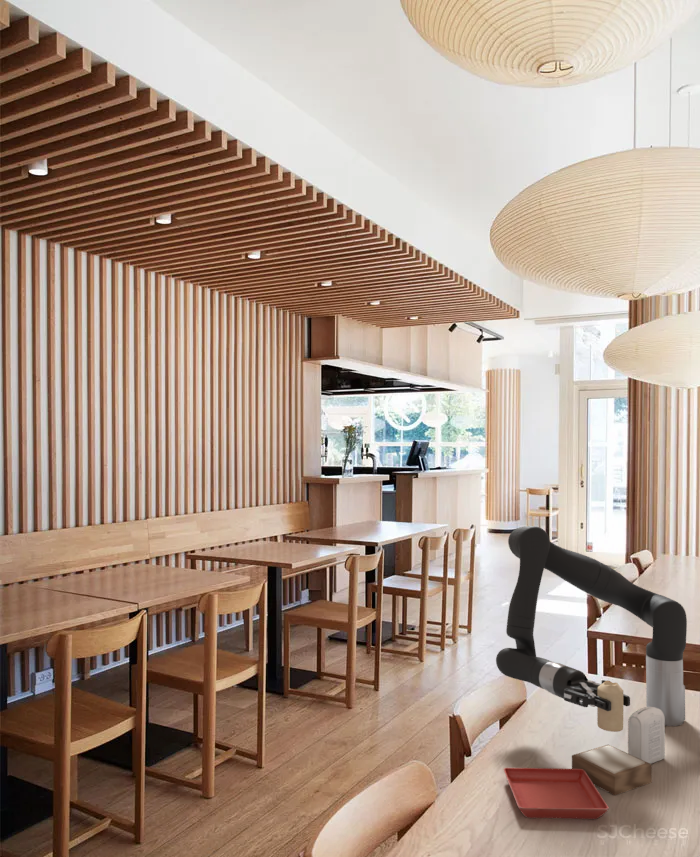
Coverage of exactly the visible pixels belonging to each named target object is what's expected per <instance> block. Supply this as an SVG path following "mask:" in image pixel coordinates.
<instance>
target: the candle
mask: <svg viewBox="0 0 700 857" xmlns="http://www.w3.org/2000/svg"><path fill="white" fill-rule="evenodd" d="M600 684H601V685H600V686H598V696H599V697H602V698H604V699H607V700H609V701H611V711H606V710H603V709H601V708H599V707H597V708H596V709H597V713H596V714H597V715H596V716H597V719H596V720H597V722H596V723H597V727H598V728H599V729H601V730H603V731H606V732H610V733H611V732H612V733H615V732H616V733H618V732H622V731H623V730H624V705H623V694H624V689H623V688H622V687H621V686H620V685H619V684H618V682H612V681H610V680H609V679H608V680H605V682H604V683H602V682H601V683H600Z"/></svg>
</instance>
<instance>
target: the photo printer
mask: <svg viewBox="0 0 700 857" xmlns="http://www.w3.org/2000/svg"><path fill="white" fill-rule="evenodd" d="M628 717H629V718H628V720H627V721H628V722H627V730H628V731H627V732H628V733H627V749H628V750H627V753H628V754H630V755H632V756H635V757H637V758H639V759H641V760H643V761H645V762H648V763H650V764H653V763H656V762H659V761H661V760H663V759H665V756H666V755H665V754H666V752H665V750H666V749H665V748H666V744H665V742H666V741H665V740H666V739H665V736H666V735H665V732H666V731H665V730H666V729H665V726H666V725H665V718H664V714H663V712H662V711H661V710H660V709H658V708H655V707H646V706H645V707H642V708H639V709H638V710H635V711H634V712H633V713H632V714H631V715H630V716H628Z"/></svg>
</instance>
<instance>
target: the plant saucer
mask: <svg viewBox="0 0 700 857" xmlns="http://www.w3.org/2000/svg"><path fill="white" fill-rule="evenodd" d="M502 770H503V772H504V774H505V777H506V779H507V780H506V781H507V782H508V784H509V787H510V790H511V793H512V795H513V797H514V800H515V802H516V804H517V807H518V809H519V811H520V812H521V813H522V814H523V816H524V817H525V818H528V819H575V820H576V819H577V820H578V819H579V820H597V819H599V818H600V817H602V816H603V815H605V814H606V813H607V812H608V810H609V809H610V808H609V806H608V804H607V803H606V801H605V799H604V798H603V796H602V795H601V793H600V792H599V791H598V789H597V786H596V785H594V784H593V782H592V781H591V779H590V778H589V776H588V775H587V773H586V772H585V770H583V769H572V768H554V767H553V768H552V767H551V768H550V767H549V768H548V767H547V768H545V767H542V768H540V767H504V768H503V769H502Z"/></svg>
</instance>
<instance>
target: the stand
mask: <svg viewBox="0 0 700 857" xmlns="http://www.w3.org/2000/svg"><path fill="white" fill-rule="evenodd" d="M652 767H653V763H651V764H650V763H648V762H645V761H643V760H641V759H639V758H637V757H635V756H632V755H630V754H628V752H625V751H623V750H621V749H619V748H617V747H615V746H612V745H610V744H605V745H601V746H598V747H595V748H593V749H588V750H585V751H582V752H579V753H578V752H577V753H575V754H572V755H571V769H583V770H585V772H586V773H587V775H588V776H589V778H590V779H591V781H592V782H593V784H594V786H595V787H598V788H599V789H601V790H603V791H605V792H606V793H609V794H611V795H613V796H618V795H620V794H623V793H627V792H629V791H631V790H634V789H637V788H641V787H643V786H646V785H649V784H651V783H653V779H652V778H653V771H652V770H653V769H652Z"/></svg>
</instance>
